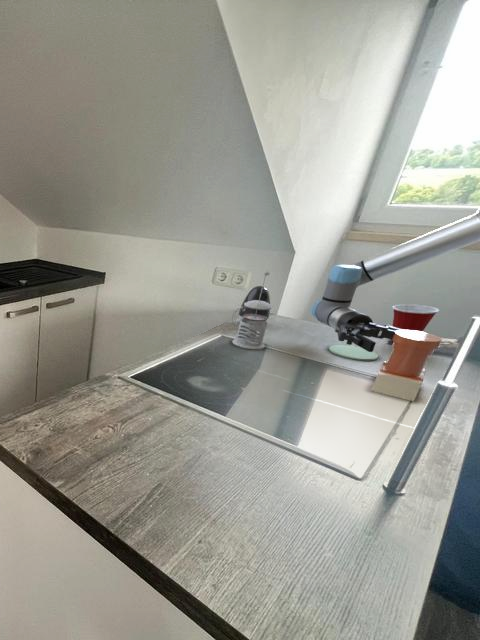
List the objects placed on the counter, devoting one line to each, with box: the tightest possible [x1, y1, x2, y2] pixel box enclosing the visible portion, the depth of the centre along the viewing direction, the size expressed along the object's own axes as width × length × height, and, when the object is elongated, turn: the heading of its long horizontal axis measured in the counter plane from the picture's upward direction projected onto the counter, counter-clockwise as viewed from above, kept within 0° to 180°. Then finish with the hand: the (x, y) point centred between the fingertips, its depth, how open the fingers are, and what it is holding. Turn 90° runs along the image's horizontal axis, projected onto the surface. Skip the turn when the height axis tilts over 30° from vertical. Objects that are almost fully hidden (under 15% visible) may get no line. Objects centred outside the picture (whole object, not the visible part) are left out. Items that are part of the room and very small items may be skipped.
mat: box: [328, 344, 379, 361], centre depth 125 cm, size 12×12×1 cm
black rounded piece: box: [238, 285, 271, 325], centre depth 149 cm, size 10×10×15 cm
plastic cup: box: [391, 304, 440, 332], centre depth 130 cm, size 11×11×12 cm
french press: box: [231, 270, 273, 350], centre depth 130 cm, size 10×12×25 cm
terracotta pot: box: [385, 330, 443, 377], centre depth 99 cm, size 8×8×10 cm
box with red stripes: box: [370, 360, 426, 402], centre depth 102 cm, size 12×8×5 cm
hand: (402, 348), depth 101 cm, fingers open, 13 cm apart
